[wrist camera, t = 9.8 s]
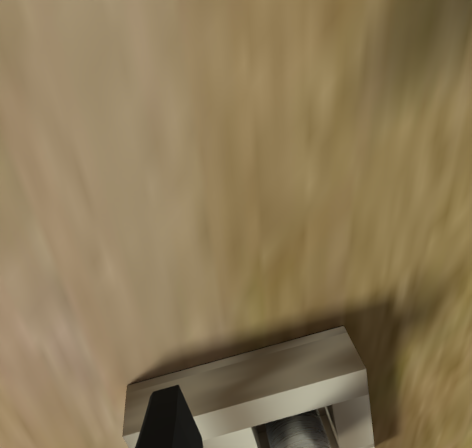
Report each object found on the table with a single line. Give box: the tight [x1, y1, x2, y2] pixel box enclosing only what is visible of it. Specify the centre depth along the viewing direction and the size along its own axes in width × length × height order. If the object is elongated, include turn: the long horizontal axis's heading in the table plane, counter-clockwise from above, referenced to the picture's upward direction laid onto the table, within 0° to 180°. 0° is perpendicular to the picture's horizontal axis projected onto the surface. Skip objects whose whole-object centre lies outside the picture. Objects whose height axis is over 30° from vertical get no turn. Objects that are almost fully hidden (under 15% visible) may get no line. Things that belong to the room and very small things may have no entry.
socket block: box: [122, 326, 374, 448], centre depth 25 cm, size 12×12×3 cm
